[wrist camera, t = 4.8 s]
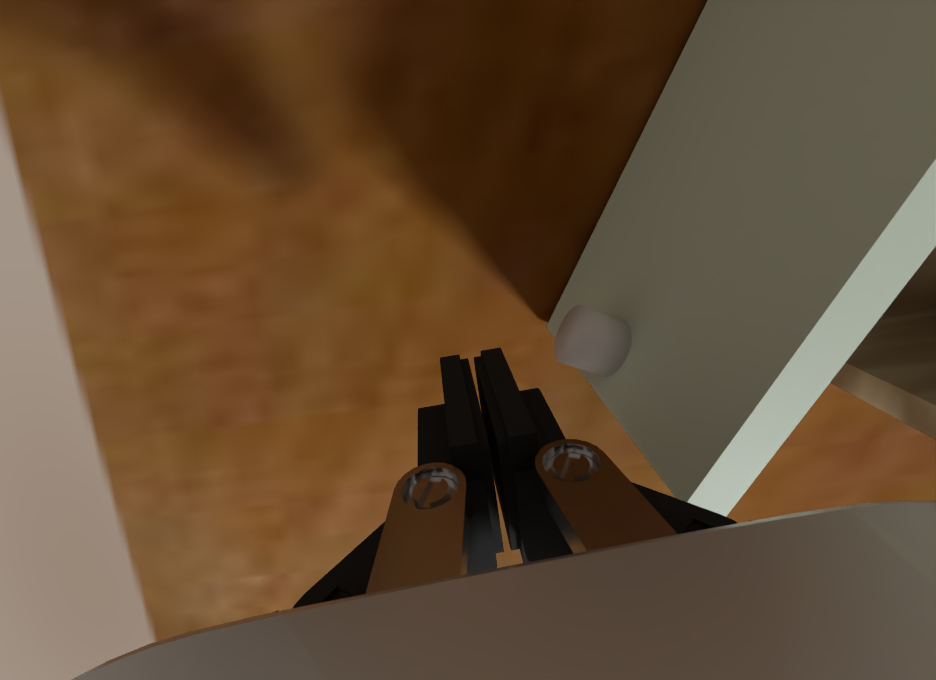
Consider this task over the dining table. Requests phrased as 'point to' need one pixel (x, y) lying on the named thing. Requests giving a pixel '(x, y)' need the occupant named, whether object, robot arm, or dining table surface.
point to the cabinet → (900, 356)
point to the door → (757, 231)
